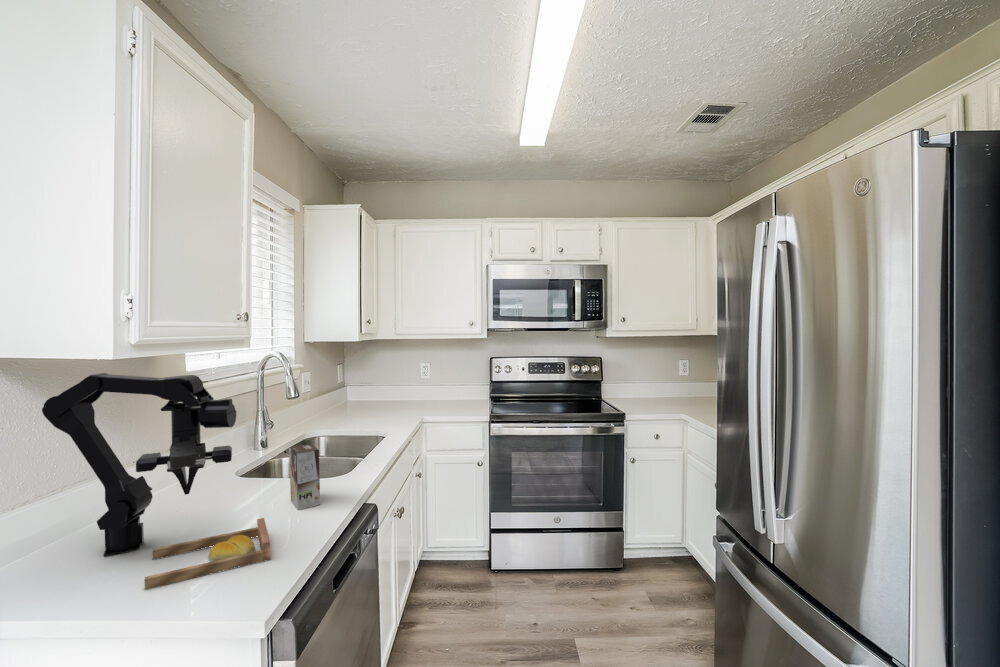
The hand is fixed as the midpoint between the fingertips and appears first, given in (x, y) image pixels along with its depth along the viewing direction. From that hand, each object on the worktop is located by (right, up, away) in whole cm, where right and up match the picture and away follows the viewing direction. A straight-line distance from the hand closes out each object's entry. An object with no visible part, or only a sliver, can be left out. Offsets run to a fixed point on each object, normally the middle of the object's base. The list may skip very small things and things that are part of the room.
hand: (187, 493), depth 115 cm
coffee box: (+18, -11, +25) cm, 33 cm away
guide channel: (+10, -12, -8) cm, 17 cm away
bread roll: (+14, -12, -6) cm, 20 cm away
